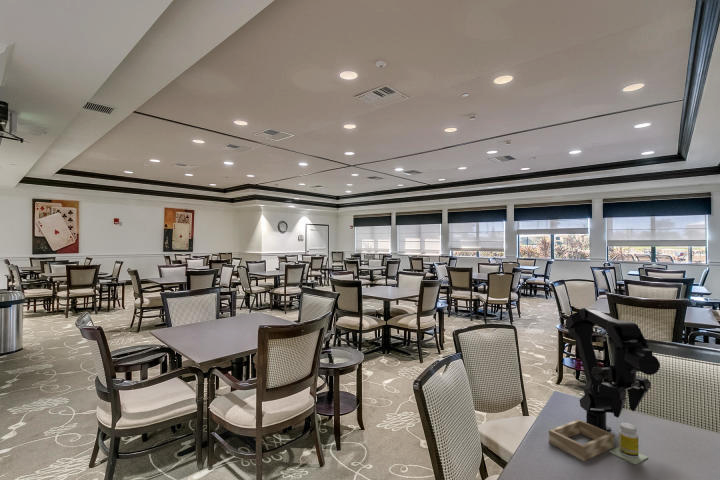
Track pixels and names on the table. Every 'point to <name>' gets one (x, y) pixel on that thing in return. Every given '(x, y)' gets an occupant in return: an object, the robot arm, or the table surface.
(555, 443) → the wooden box
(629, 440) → the supplement bottle
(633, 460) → the sage mat
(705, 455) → the table surface
